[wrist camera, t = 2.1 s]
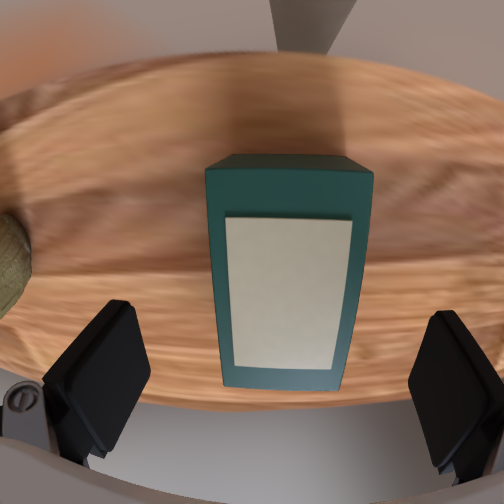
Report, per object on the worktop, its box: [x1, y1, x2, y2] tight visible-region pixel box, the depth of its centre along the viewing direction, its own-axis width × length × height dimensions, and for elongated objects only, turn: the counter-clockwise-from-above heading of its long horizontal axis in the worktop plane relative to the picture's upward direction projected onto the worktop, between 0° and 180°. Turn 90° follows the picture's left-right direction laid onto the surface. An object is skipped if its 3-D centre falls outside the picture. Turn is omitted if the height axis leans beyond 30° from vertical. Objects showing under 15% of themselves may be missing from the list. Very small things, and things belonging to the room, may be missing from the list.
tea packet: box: [205, 154, 374, 391], centre depth 12 cm, size 9×5×5 cm, turn 1°
